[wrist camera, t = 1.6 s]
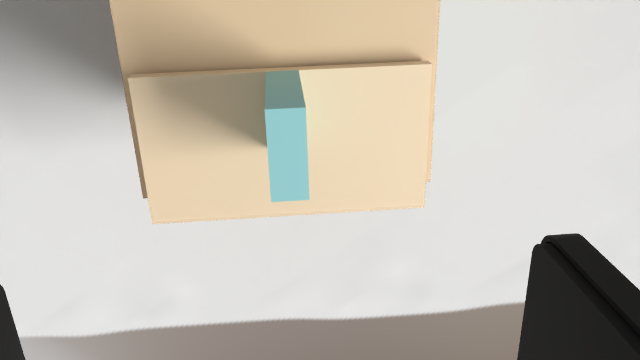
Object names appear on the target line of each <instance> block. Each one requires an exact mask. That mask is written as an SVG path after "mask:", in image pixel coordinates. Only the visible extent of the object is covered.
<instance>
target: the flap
mask: <svg viewBox="0 0 640 360" xmlns="http://www.w3.org/2000/svg"><path fill="white" fill-rule="evenodd" d="M431 75H432V64H431V63H430V62H429V61H409V62H387V63H365V64H343V65H321V66H299V67H277V68H256V69H234V70H212V71H190V72H168V73H146V74H131V75H130V76H129V77H128V83H129V89H130V95H131V101H132V107H133V113H134V119H135V124H136V130H137V136H138V142H139V148H140V154H141V160H142V166H143V172H144V178H145V184H146V190H147V196H148V202H149V208H150V214H151V220H152V224H162V223H178V222H194V221H211V220H227V219H243V218H259V217H276V216H292V215H308V214H324V213H341V212H357V211H373V210H390V209H406V208H422V207H425V191H426V172H427V152H428V133H429V114H430V95H431Z"/></svg>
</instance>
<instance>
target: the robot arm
mask: <svg viewBox="0 0 640 360" xmlns="http://www.w3.org/2000/svg"><path fill="white" fill-rule="evenodd" d="M0 360H25V357H24V354H23V350H22V348H21V344H20V341H19V337H18V334H17V330H16V327H15V324H14V320H13V317H12V314H11V310H10V307H9V304H8V300H7V297H6V294H5V291H4V288H3V287H2V286H1V285H0ZM517 360H640V290H639V289H638V288H637V287H636V286H635V285H634V284H633V283H631V282H630V281H629V280H628V279H627V278H626V277H625V276H624V275H623V274H622V273H621V272H620V271H619V270H618V269H617V268H616V267H615V266H614V265H612V264H611V263H610V262H609V261H608V260H607V259H606V258H605V257H604V256H603V255H602V254H601V253H600V252H599V251H598V250H597V249H596V248H594V247H593V246H592V245H591V244H590V243H589V242H588V241H587V240H586V239H585V238H584V237H583V236H581V235H580V234H561V235H548V236H545V237H544V238H543V240H542V242H541V244H537V245H535V246H534V248H533V251H532V258H531V265H530V272H529V279H528V286H527V294H526V301H525V308H524V316H523V322H522V330H521V337H520V344H519V352H518V358H517Z"/></svg>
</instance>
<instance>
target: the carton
mask: <svg viewBox="0 0 640 360" xmlns="http://www.w3.org/2000/svg"><path fill="white" fill-rule="evenodd" d="M109 2H110V8H111V14H112V20H113V25H114V31H115V37H116V43H117V49H118V54H119V60H120V66H121V72H122V78H123V84H124V89H125V95H126V101H127V107H128V113H129V118H130V124H131V130H132V136H133V142H134V148H135V153H136V159H137V165H138V171H139V177H140V182H141V188H142V194H143V198H148V196H147V190H146V184H145V178H144V172H143V166H142V160H141V154H140V148H139V142H138V136H137V130H136V124H135V119H134V113H133V107H132V101H131V95H130V89H129V83H128V77H129V76H130V75H131V74H146V73H168V72H190V71H212V70H234V69H256V68H277V67H299V66H321V65H343V64H365V63H387V62H409V61H429V62H430V63H431V64H432V75H431V95H430V114H429V133H428V152H427V172H426V182H430V176H431V157H432V139H433V121H434V103H435V85H436V67H437V49H438V31H439V13H440V0H109Z"/></svg>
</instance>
